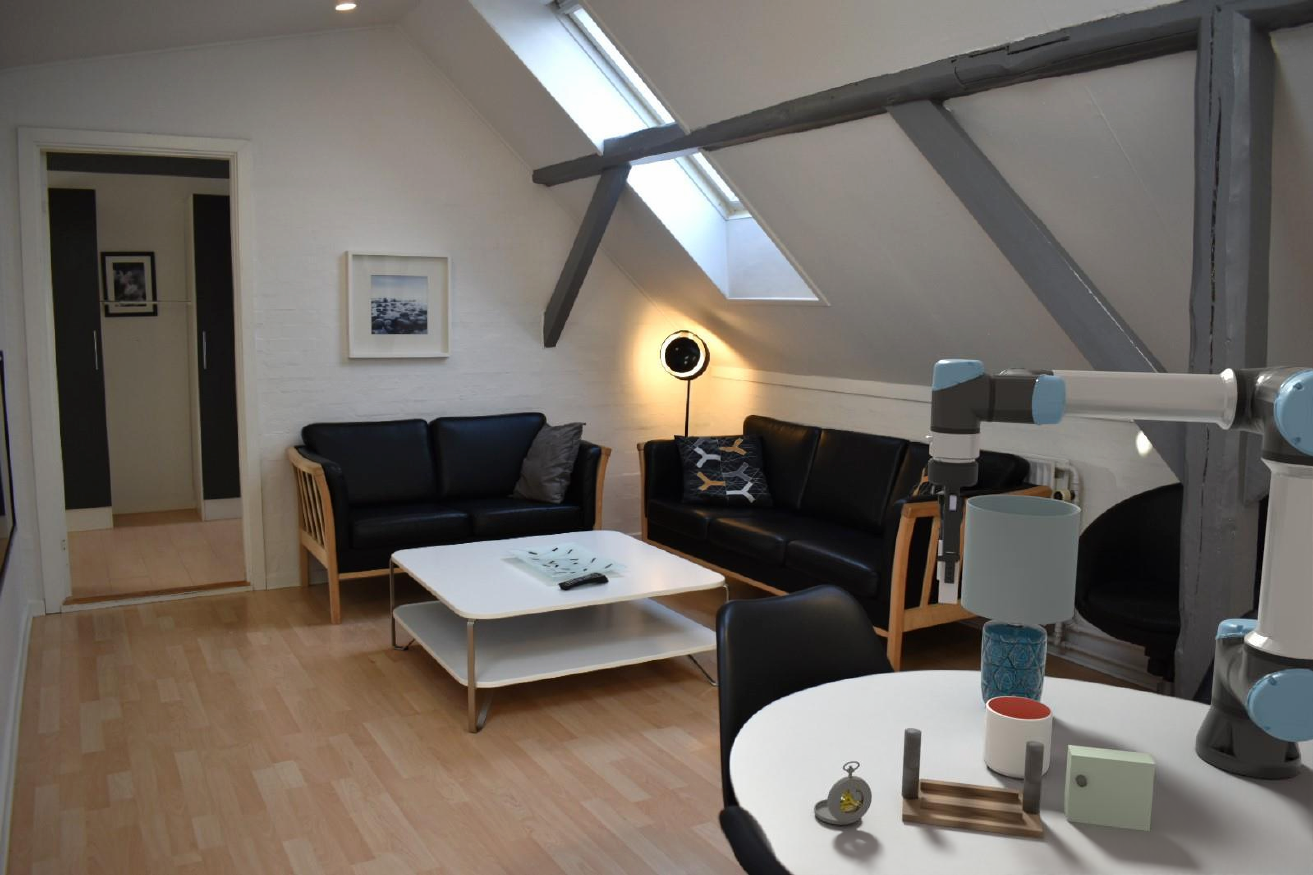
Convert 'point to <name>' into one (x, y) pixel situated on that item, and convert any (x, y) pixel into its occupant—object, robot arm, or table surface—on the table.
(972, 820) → the hinge board
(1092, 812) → the door
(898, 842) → the table surface
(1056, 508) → the lamp
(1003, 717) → the cup
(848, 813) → the pocket watch
